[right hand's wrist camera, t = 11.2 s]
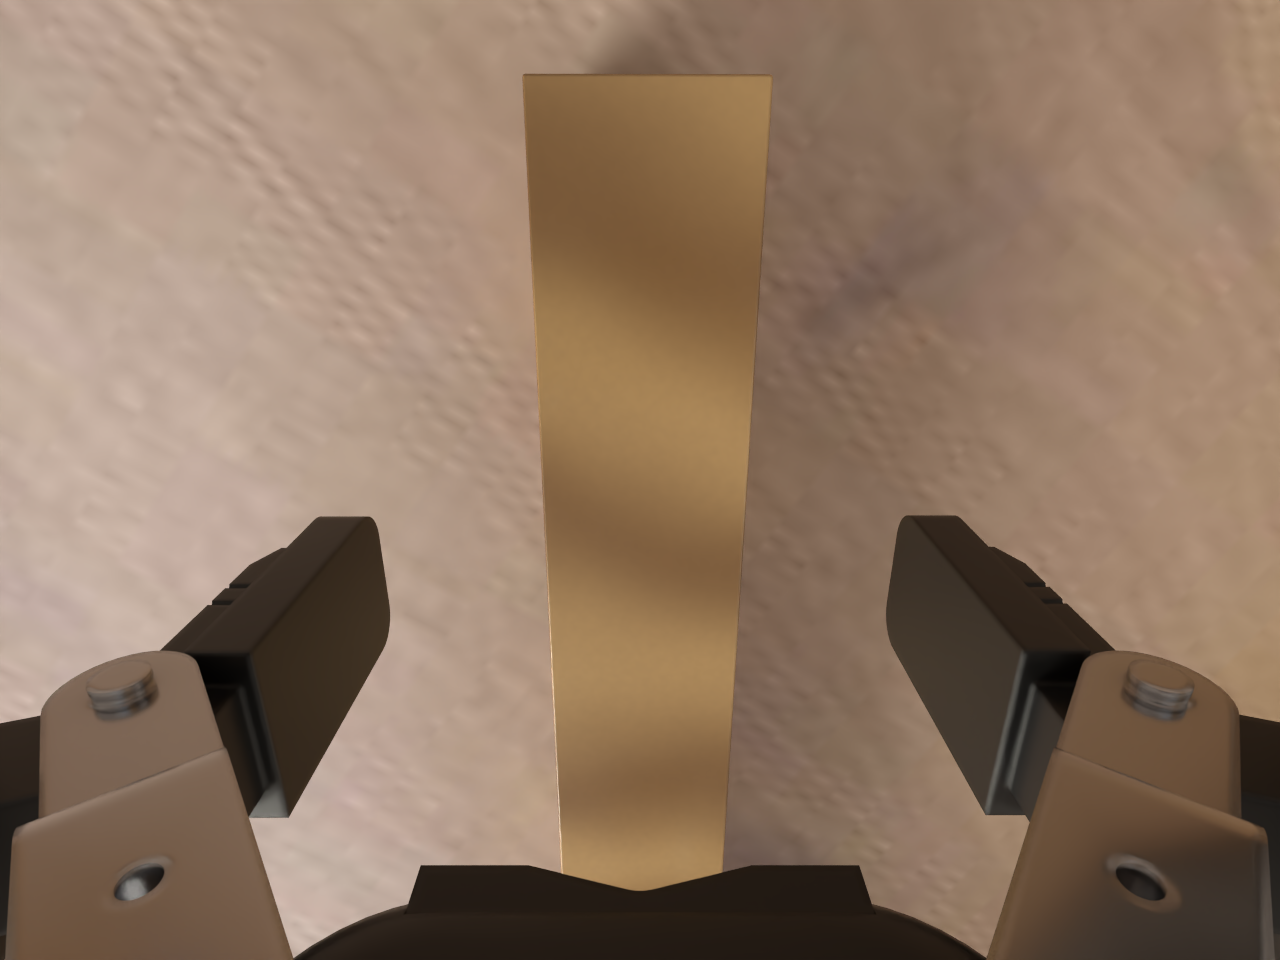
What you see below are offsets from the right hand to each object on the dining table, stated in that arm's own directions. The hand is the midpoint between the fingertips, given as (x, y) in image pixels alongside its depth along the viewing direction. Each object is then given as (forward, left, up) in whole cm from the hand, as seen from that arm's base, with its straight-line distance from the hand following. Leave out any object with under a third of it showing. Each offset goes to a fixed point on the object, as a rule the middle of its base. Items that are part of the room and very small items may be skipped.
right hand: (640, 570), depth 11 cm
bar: (+7, -22, -12) cm, 26 cm away
